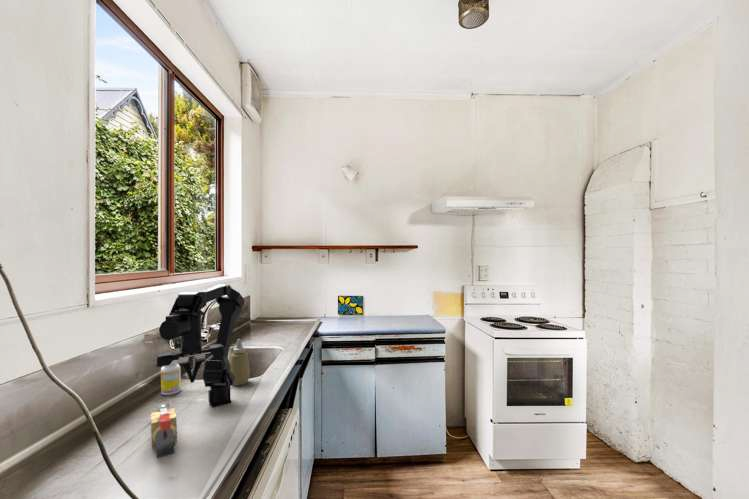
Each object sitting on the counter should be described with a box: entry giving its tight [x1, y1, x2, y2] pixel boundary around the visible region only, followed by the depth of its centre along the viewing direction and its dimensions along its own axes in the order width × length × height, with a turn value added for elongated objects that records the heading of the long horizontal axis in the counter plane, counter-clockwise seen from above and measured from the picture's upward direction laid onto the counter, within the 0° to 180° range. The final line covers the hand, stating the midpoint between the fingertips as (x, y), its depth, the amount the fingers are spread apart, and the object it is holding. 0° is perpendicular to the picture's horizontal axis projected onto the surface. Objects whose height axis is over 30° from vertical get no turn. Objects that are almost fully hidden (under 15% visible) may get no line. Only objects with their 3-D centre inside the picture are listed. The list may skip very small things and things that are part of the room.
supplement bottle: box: [160, 360, 182, 396], centre depth 134 cm, size 7×7×13 cm
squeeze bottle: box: [229, 338, 251, 386], centre depth 142 cm, size 8×8×18 cm
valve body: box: [150, 407, 178, 459], centre depth 100 cm, size 6×22×8 cm, turn 34°
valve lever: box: [156, 402, 171, 431], centre depth 95 cm, size 14×3×2 cm, turn 34°
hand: (192, 382), depth 108 cm, fingers closed
